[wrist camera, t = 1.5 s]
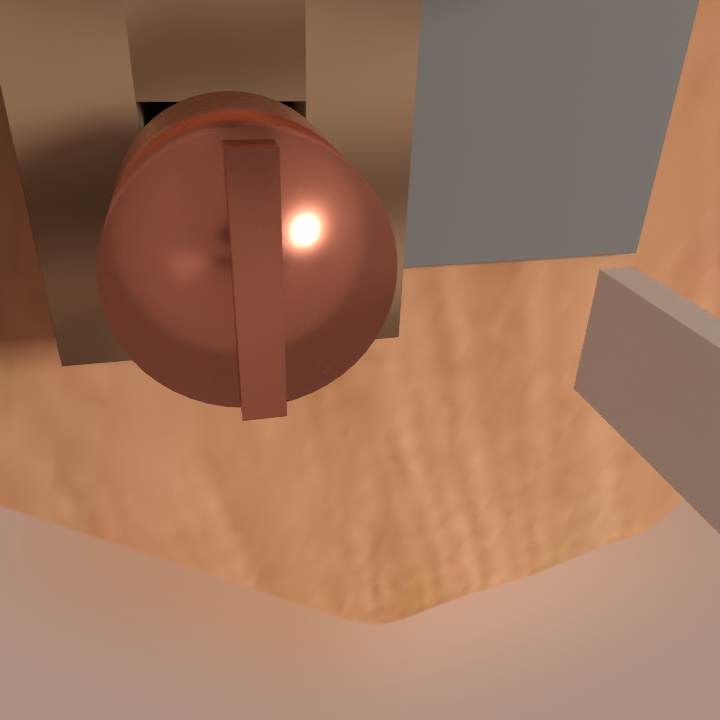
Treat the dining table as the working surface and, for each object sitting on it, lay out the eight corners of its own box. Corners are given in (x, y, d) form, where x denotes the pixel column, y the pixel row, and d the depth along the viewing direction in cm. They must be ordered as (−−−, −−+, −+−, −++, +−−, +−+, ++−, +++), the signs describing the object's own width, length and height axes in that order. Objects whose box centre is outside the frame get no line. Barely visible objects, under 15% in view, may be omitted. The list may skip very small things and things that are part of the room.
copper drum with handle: (118, 57, 23) (63, 139, 11) (301, 58, 24) (419, 134, 13) (142, 235, 26) (118, 442, 15) (303, 227, 28) (398, 410, 16)
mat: (407, -58, 23) (412, -59, 23) (699, -43, 26) (710, -43, 26) (389, 263, 29) (392, 268, 29) (628, 248, 32) (635, 253, 31)
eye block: (11, -41, 21) (-29, -45, 17) (378, -26, 24) (423, -27, 19) (79, 304, 27) (61, 366, 23) (366, 285, 30) (398, 337, 25)
